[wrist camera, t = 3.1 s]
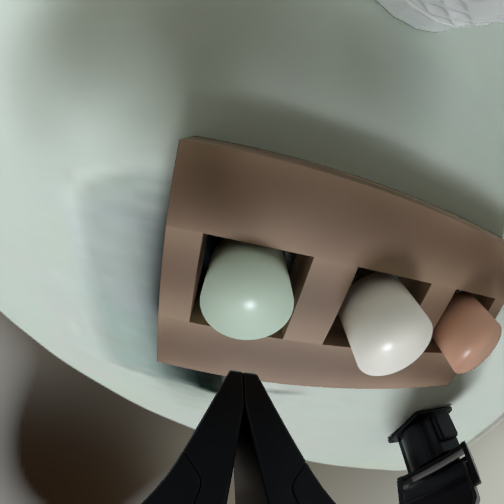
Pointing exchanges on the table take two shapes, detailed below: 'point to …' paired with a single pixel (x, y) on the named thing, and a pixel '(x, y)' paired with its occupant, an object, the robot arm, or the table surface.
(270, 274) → the button sage
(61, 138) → the table surface
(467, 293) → the button terracotta
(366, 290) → the button cream
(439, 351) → the panel
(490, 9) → the white cup
